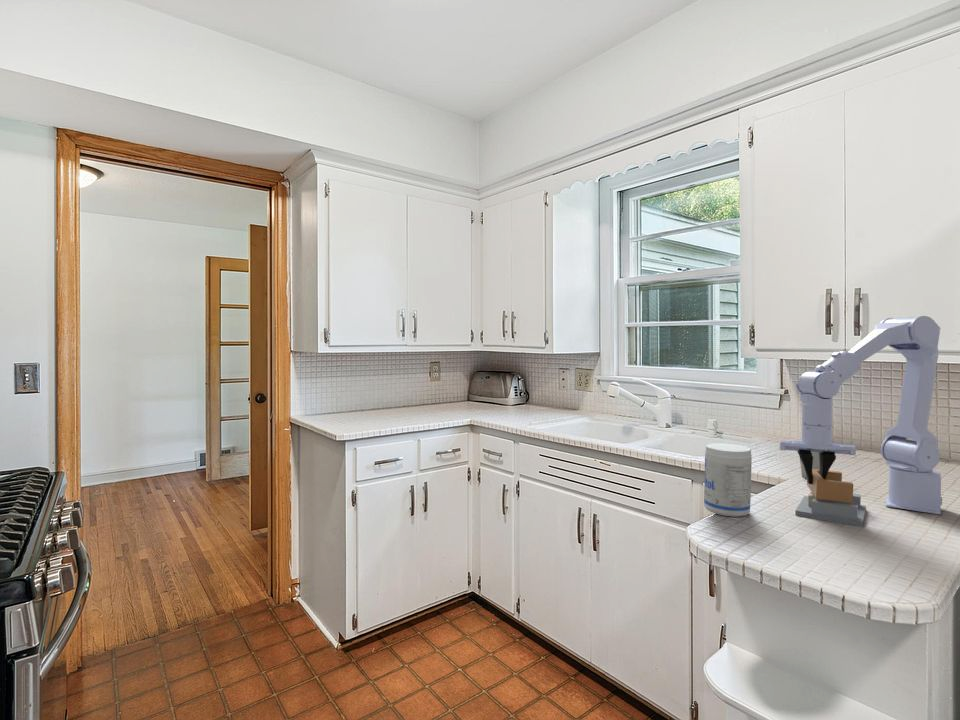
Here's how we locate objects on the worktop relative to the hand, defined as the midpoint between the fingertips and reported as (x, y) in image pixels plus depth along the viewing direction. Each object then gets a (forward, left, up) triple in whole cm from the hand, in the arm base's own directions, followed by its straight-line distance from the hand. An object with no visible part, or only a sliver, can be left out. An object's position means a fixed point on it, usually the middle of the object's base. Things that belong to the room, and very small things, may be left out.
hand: (815, 483), depth 118 cm
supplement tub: (+16, +14, -6) cm, 21 cm away
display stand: (-3, 0, -6) cm, 7 cm away
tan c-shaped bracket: (-2, -1, -2) cm, 3 cm away
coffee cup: (+5, -33, -6) cm, 34 cm away
